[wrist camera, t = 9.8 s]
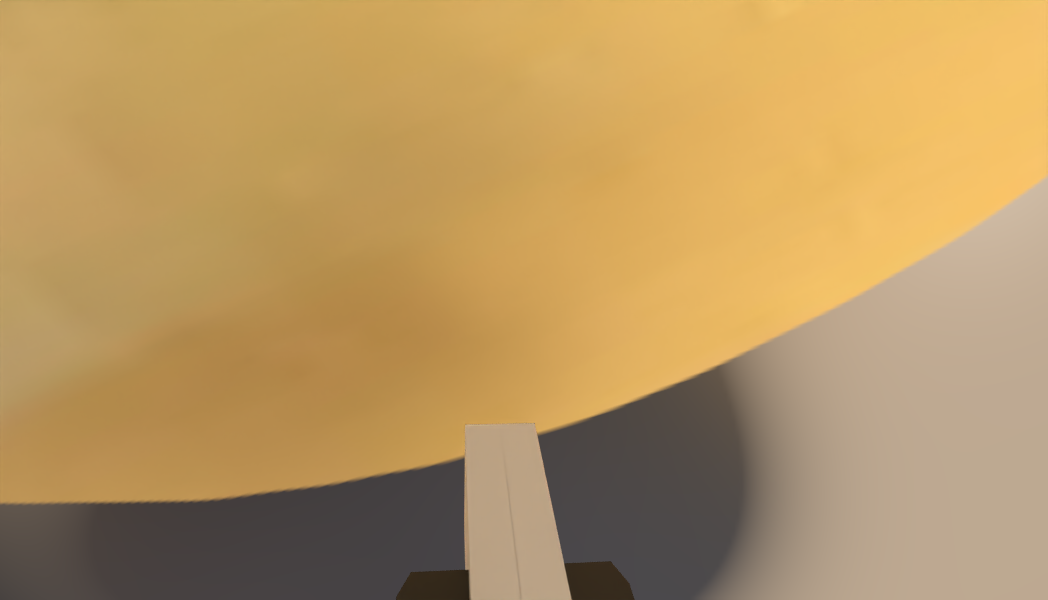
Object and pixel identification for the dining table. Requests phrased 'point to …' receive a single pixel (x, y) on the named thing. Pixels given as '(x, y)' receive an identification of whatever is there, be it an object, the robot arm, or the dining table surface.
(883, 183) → the dining table surface
